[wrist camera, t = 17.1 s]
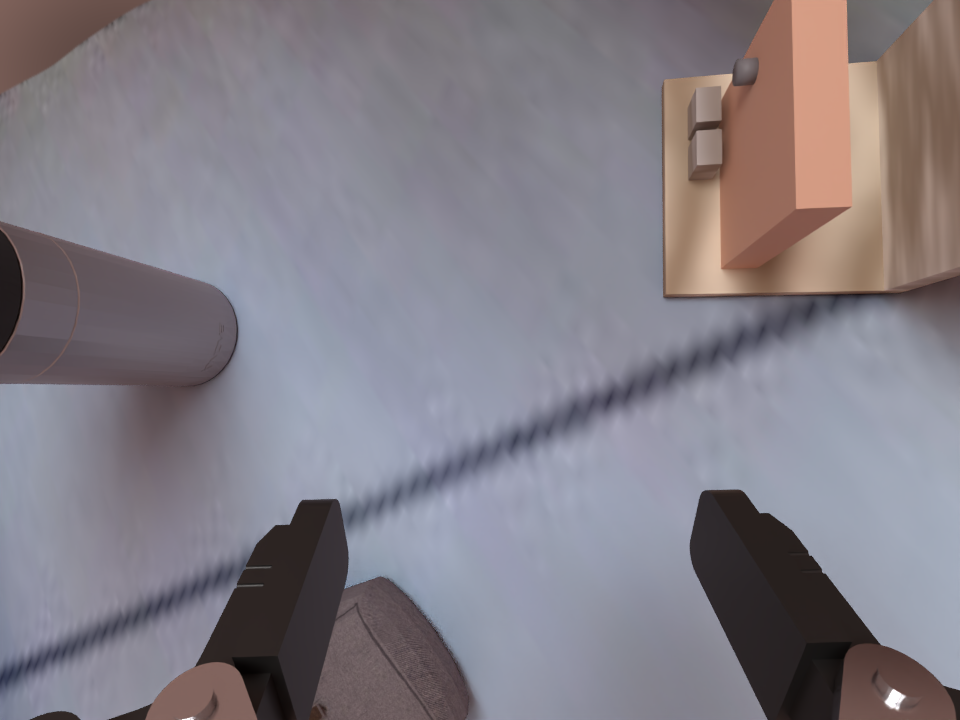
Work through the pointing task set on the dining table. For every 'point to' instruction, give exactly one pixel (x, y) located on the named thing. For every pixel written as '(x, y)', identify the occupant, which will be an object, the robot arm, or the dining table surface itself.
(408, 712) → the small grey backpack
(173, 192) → the dining table surface
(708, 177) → the wooden bookend stand
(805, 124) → the door
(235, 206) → the dining table surface
